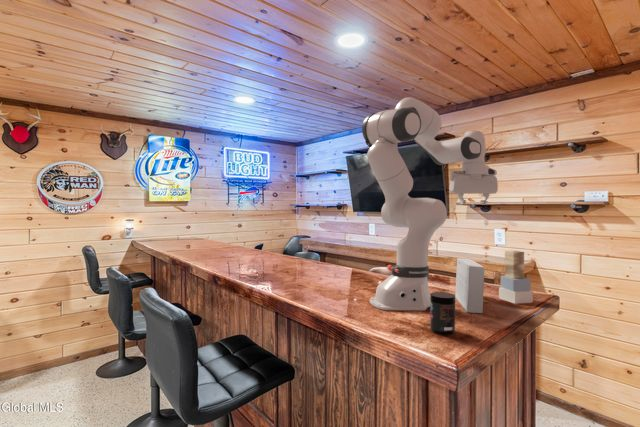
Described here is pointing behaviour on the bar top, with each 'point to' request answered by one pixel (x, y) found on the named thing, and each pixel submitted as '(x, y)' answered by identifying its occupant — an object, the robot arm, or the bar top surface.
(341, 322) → the bar top surface
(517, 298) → the base block
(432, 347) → the bar top surface
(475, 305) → the skincare box
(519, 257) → the maple pillar
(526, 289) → the top block
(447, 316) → the supplement container
